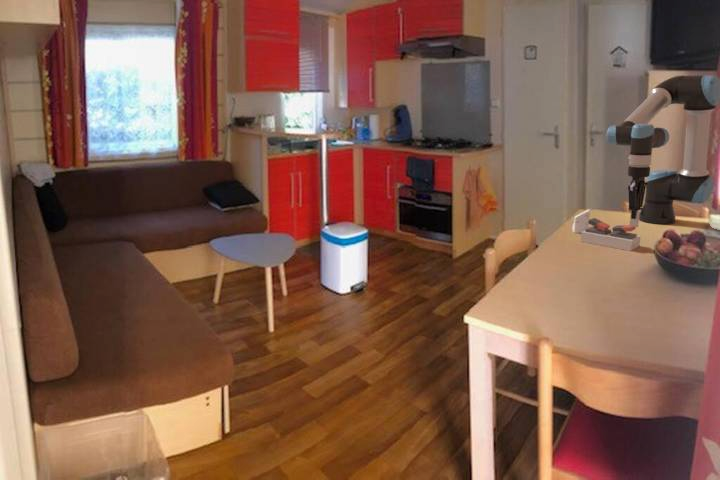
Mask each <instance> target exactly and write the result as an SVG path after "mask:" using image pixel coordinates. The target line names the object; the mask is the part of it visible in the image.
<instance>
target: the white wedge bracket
mask: <svg viewBox="0 0 720 480" xmlns="http://www.w3.org/2000/svg"><path fill="white" fill-rule="evenodd" d="M590 217H591V209H590V208H587V210H585V211H583V212H581V213H579V214H577V215H575V216H574V218H573V223H572V230H571V231H572V232H573V233H576V234H577V233H579V234H581V232H583V231H585V230H586V229H588V228H590V227H589V226H590V224H589V223H588V222H589V220H590Z"/></svg>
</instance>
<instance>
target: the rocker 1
mask: <svg viewBox="0 0 720 480" xmlns="http://www.w3.org/2000/svg"><path fill="white" fill-rule="evenodd" d="M588 223H589V225H590V226H592V227H594V229H598V228H599V229H601V230H603V231H605V230H607V229H609V230H610V227H611V225H610V224H608V223H606V222H604V221H602V220H599V219H598V218H596V217H593V218H591V219H590V218H589V222H588Z"/></svg>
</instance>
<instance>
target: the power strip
mask: <svg viewBox="0 0 720 480" xmlns="http://www.w3.org/2000/svg"><path fill="white" fill-rule="evenodd" d="M580 234H581V235H580V242H581V243H585V244H586V243H587V244H593V245H597V246H603V247H608V248H613V249H620V250H622V251H623V250H624V251H629V252H630V251H633V250H635V249H636V248H638V247H640V244H641V235H638V234H637V233H634V232H633V233H632V232H628V231H627V232H625V233H623V234H621V233H620V232H619V231H616V232H613V230H612V229H610V228H609V229H607V230H605V231H603V230H601V229H599V228H598V229H594V226H590V227H589V228H588V229H586V230H585V231H583V232H581V233H580Z"/></svg>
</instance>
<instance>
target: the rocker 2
mask: <svg viewBox="0 0 720 480" xmlns="http://www.w3.org/2000/svg"><path fill="white" fill-rule="evenodd" d="M636 229H637V227H630V224H629V225H628V224H627V225H626V224H625V225H623V224H622V225H616V226H613V227H612V229H611V230H612V231H613V232H616V231H619V232H620V233H621V234H623V233H625V232H627V233H628V232H633V231H635V230H636Z"/></svg>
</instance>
